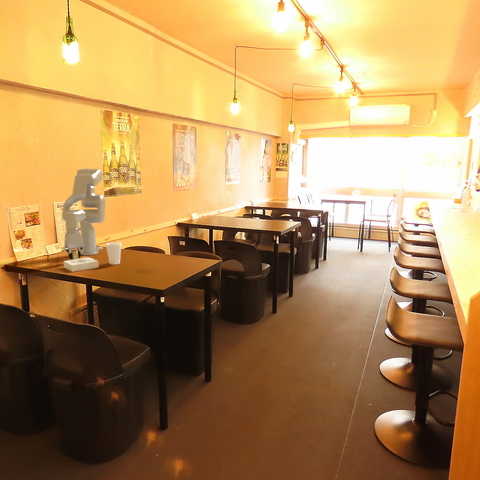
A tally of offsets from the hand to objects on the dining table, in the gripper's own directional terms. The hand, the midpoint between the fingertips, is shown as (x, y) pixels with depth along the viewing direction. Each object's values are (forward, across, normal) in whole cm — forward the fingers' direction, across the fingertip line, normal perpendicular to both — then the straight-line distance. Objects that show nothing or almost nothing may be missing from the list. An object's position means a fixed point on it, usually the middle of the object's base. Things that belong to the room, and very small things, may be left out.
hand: (74, 258), depth 264 cm
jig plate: (+2, +2, +16) cm, 17 cm away
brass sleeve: (+2, 0, 0) cm, 2 cm away
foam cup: (+3, -18, +20) cm, 27 cm away
